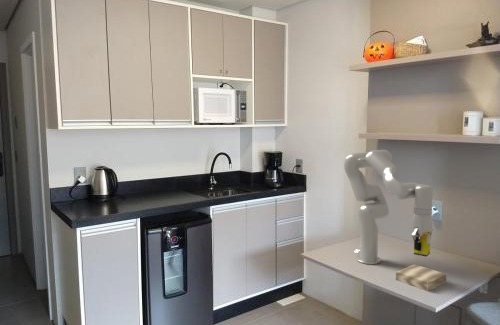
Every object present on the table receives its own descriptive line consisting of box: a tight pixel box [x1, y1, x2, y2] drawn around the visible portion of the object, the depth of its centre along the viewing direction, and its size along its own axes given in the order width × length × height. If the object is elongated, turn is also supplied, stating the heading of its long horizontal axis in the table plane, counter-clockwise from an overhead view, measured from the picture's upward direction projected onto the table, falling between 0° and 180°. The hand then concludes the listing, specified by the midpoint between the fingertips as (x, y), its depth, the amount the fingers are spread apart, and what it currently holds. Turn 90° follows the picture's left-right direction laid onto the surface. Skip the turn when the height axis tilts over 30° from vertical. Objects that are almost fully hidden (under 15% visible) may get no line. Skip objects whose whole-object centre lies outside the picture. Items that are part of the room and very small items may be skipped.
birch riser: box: [395, 264, 447, 292], centre depth 181 cm, size 16×16×4 cm
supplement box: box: [413, 231, 432, 257], centre depth 179 cm, size 6×6×11 cm
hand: (422, 248), depth 179 cm, fingers closed on supplement box, 6 cm apart
